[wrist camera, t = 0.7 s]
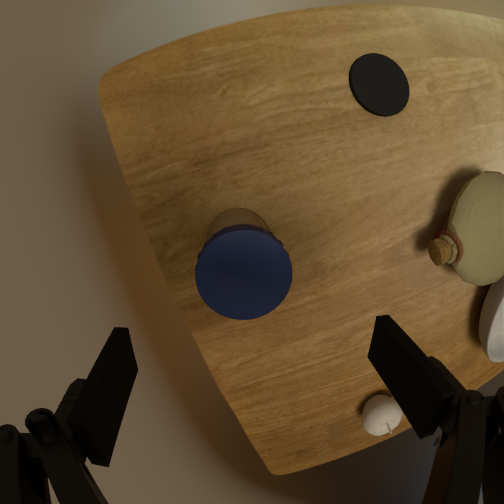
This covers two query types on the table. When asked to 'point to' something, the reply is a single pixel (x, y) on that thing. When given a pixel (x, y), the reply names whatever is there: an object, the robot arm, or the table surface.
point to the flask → (474, 231)
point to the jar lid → (243, 272)
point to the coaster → (379, 84)
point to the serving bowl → (493, 322)
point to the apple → (381, 415)
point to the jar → (235, 220)
